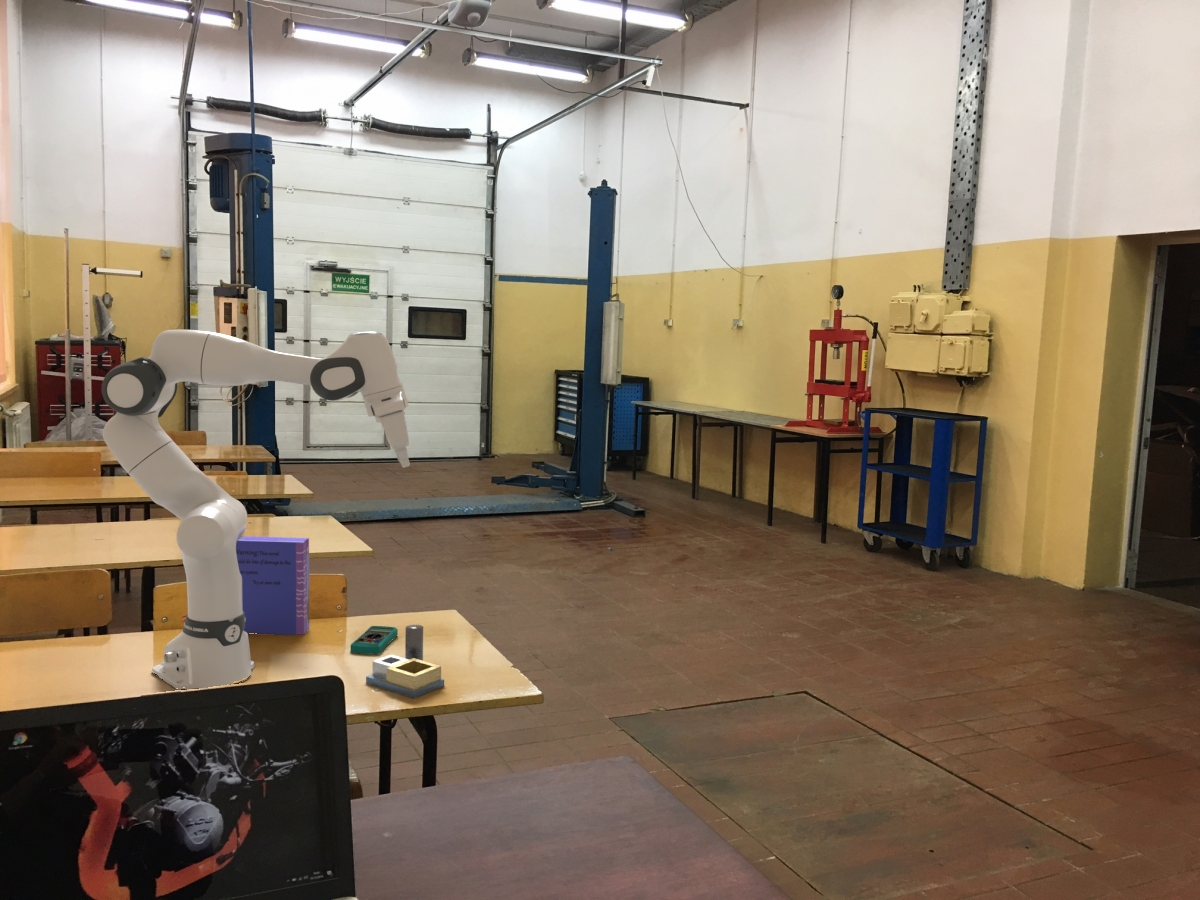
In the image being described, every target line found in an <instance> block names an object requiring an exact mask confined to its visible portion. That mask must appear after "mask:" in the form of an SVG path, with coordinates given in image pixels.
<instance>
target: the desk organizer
mask: <svg viewBox="0 0 1200 900" xmlns="http://www.w3.org/2000/svg"><path fill="white" fill-rule="evenodd" d="M365 683H366V684H367V683H368V684H367V685H370V684H371V686H375V687H376V688H377V687H378V688H381V689H382V690H386V691H390V692H393V693H396V694H400V695H402V696H405V697H408V698H411V699H417V698H419V697H421V696H424V695H426V694H429V693H430V692H433V691H436V690H439V689H440V688H443V687H444V686H445V678H442V665H439V664H436V663H432V662H430V661H429V662H428V661H425V660H423V661H422V660H419V659H415V658H412V659H410V660H409V659H405V657H403V656H402V657H401V656H398V655H394V654H388V655H386V656H383V657H380V658H377V659H374V660H372V673H371V674H370V675H369V674H368V675H367V676H366V677H365Z"/></svg>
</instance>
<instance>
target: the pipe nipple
mask: <svg viewBox="0 0 1200 900" xmlns="http://www.w3.org/2000/svg"><path fill="white" fill-rule="evenodd" d="M404 643H405V646H404V647H405V649H404V650H405V651H404V656H405V657H404V658H405V659H409V660H410V659H412V658H415V659H419V660H422V661H424V626H423V625H421V624H410V625H406V626H405V641H404Z"/></svg>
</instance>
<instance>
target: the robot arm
mask: <svg viewBox="0 0 1200 900" xmlns="http://www.w3.org/2000/svg"><path fill="white" fill-rule="evenodd" d="M397 367H398V365H397V362H396V358H395V356H394V352H393V349H392V347H391V345H390V341H388V338H387V337H386V336H385V335H384V334H383V333H381V332H379V331H359V332H352V333H351V334H348V336H347V338H346V339H345V340H344V341H343V342H342V343H341V344H340V345H339V346H338V347H337V348H336V349H335V350H333V351H332V352H331V353H329V354H327V355H326V356H323V357H312V356H306V355H298V354H293V353H287V352H279V351H276V350H271V349H269V348H266V347H263V346H260V345H258V344H255V343H253V342H249V341H247V340H244V339H241V338H239V337H235V336H231V335H227V334H223V333H219V332H212V331H207V330H206V331H205V330H198V329H197V330H196V329H167V330H164V331H161V332H160V333H159V334H158V335H156V338H155V339H154V341H153V343H152V346H151V351H150V354H149V356H148V357H146V356H141V357H138V358H135V359H133V360H130V361H126V362H124V363H121V364H119V365H116V366H115V367H113V368H112V369H111V370H109V371H108V373H106V375H105V376H104V377H103V381H102V383H101V395H102V397H103V400H104V402H105V403H106V405H108V407H109V408H111V410H113V411H115V412H116V413H115V415H113V416H112V417H111V418H110V419H108V421H107V422H105V425H104V427H103V430H102V438H103V440H104V443H105V444H106V446H107V449H109V450H110V452H111V454H112V456H114V458H115V460H116V461H117V462H118V463H119V465H120V466H121V467H122V468H123V470H125V472H126V473H127V474H128V475H129V477H130V478H131V479H133V481H134V482H135V483H136V484H137V485H138V486H139V487H140V488H141V490H142V491H143V492H144V493H145V494H146V495H147V496H148V497H149V499H150V500H151V501H152V502H154V503H155V504H156V505H158V506H160V507H163V508H164V509H165V510H168V511H169V512H170V513H172V514H173V515H175V517H176V518H178V519H180V523H179V526H178V527H177V532H176V542H177V546H178V548H179V550H180V552H181V559H182V564H183V568H184V572H185V577H186V589H187V590H186V592H187V593H186V595H187V614H186V615H183V616H181V617H180V618H182V619H181V620H180V622H184V624H183V627H182V631H181V632H180V633H179V634H177V636H175V637H174V638H173V639H172V640H170V641H169V642H168V643H167V644H166V645H165V646H164V651H163V661H162V662H160V663H158V664H156V665H154V666H153V667H152V668H151V672H152V671H153V672H154V673H155V674H157V675H158V676H159V677H158V676H157V675H156V676H157V677H158V678H160V679H161V680H162V679H163V680H162V681H164V682H165V683H166V684H168V685H170V686H171V685H172V686H171V687H173V688H174V689H176V688H178V689H177V690H179V691H181V689H185V690H191V689H193V690H194V689H205V688H204V687H213V686H221V685H227V684H232V683H233V682H234V681H239V680H242V679H243V678H246V677H249V676H250V675H251V676H252V670H253V669H254V668H255V661H253V660H252V659H251V658H252V657H251V651H250V641H249V634H247V632H245V631H244V629H245V613H244V611H243V605H242V576H241V574H240V571H239V566H238V561H237V555H236V543H237V540H238V539H239V538H240V537H241V536H243V535H244V533H245V531H246V529H247V525H248V512H247V509H246V508H245V506H244V504H242V502H241V501H239V500H238V499H237V498H234V497H233V496H232V495H230V494H229V493H228V492H227V491H225V490H224V489H223V488H222V487H221V486H220V485H219V484H217V482H215V481H214V480H212V479H211V478H210V477H208V475H206V474H205V473H204V472H202V470H200V469H199V468H198V466H196V464H195V463H193V461H192V460H191V459H190V457H188V455H187V454H185V452H184V451H183V450H182V449H181V448H180V446H179V445H178V444H176V443H175V441H174V440H173V439H172V438H171V436H169V435H168V434H167V432H166V431H165V430H164V429H163V428H162V426H161V424H160V423H159V418H161V417H162V416H163V415H164V414H165V412H166V411H167V409H168V408H169V406H170V405H171V404H172V402H173V400H174V399H175V397H176V395H177V393H178V388H179V387H178V386H179V385H178V384H179V383H181V382H187V383H188V382H189V383H196V384H203V385H209V386H218V387H220V386H221V387H237V386H238V387H239V386H244V385H250V384H255V383H260V382H261V383H262V382H267V381H269V382H271V381H272V382H274V381H276V382H283V383H290V384H298V385H306V386H311V388H312V391H314V393H315V394H316V395H317V396H318V397H320V398H321V399H323V400H326V401H330V402H337V401H343V400H346V399H349V398H352V397H354V396H356V395H357V394H358V393H359V392H360V393H361V395H362V396H361V397H362V399H363V402H364V405H365V406H364V407H365V409H366V412H367V415H368V416H367V417H371V418H372V417H374V419H375V422H376V423H380V424H381V426H382V428H383V430H384V433H385V436H386V437H385V438H386V441H387V442H388V444H389V445H390V447H391V449H392V450H393V451H394V452H395V455H396V459H397V461H398V462H399V463H400V465H401V467H402V468H408V467H410V466H411V463H410V460H409V459H410V458H409V455H408V449H407V447H408V446H410V440H409V432H408V427H407V421H406V417H405V410H406V408H407V407H408V406H409V402H408V400H407V395H406V392H405V389H404V386H403V383H402V381H401V380H400V378H399V376H398V368H397ZM251 669H252V670H251ZM154 673H153V674H154ZM155 674H154V675H155ZM251 676H250V677H251ZM250 677H249V678H250ZM183 687H185V688H183Z"/></svg>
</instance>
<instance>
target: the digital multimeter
mask: <svg viewBox="0 0 1200 900" xmlns="http://www.w3.org/2000/svg"><path fill="white" fill-rule="evenodd" d="M398 631H399V629H398V628H397V627H395V626H387V625H386V626H385V625H384V626H383V625H371V626H369V627H368V628H367V630H365V631H364V632H363V633H362V634H361V635H360V636H359V637H358V638H356V639H355V640H354V641H353V642H352V643H351V644H350V652H351V653H352V654H354V653H355V654H360V653H362V655H380V654H381V653H382V650H383V651H384V650H385V648H386V647H387V646H388V645H389V644H390V643H391V642H392V641H393V640H392V639H394V638H395V637H396V636H397V635H399V634H398V633H399V632H398ZM397 637H398V636H397ZM397 637H396V638H397ZM396 638H395V639H396ZM395 639H394V640H395ZM391 640H392V641H391ZM390 641H391V642H390ZM389 642H390V643H389ZM388 643H389V644H388ZM387 644H388V645H387ZM386 645H387V646H386Z"/></svg>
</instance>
